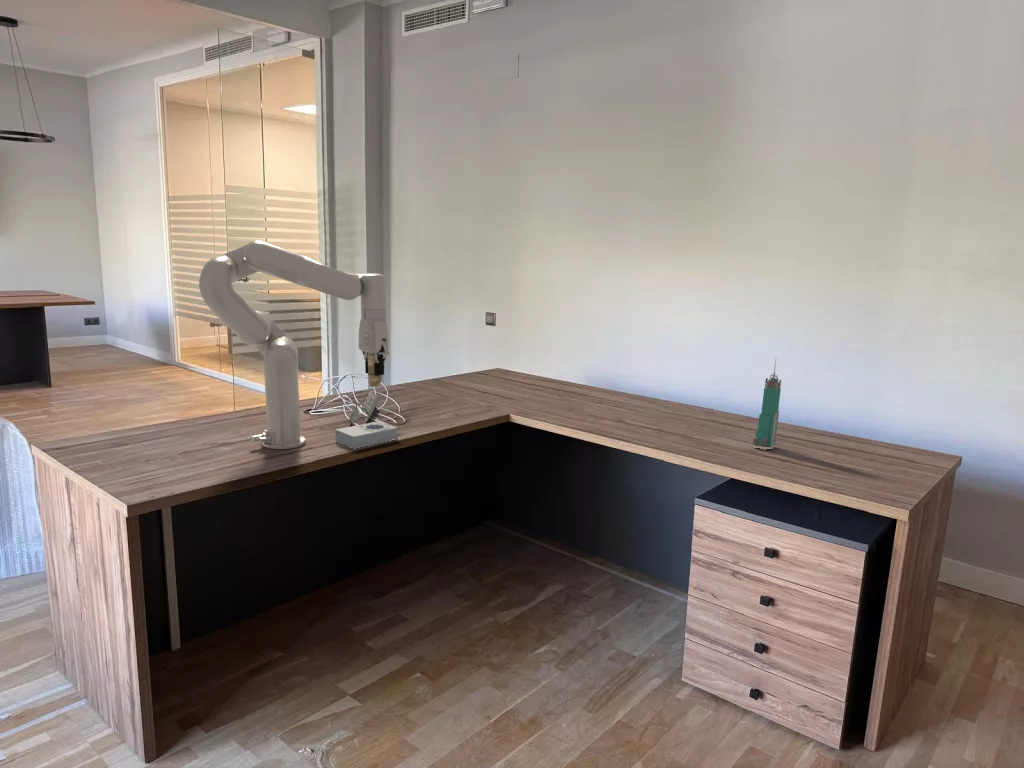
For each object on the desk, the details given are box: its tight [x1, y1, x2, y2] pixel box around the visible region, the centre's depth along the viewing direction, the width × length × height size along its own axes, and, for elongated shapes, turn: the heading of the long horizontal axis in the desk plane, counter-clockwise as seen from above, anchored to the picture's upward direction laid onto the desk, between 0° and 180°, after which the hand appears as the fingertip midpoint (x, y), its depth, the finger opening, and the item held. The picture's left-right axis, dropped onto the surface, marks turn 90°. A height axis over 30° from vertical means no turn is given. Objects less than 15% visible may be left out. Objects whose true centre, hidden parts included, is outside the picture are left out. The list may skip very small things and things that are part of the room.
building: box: [752, 359, 782, 447], centre depth 224 cm, size 6×6×30 cm
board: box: [335, 420, 398, 449], centre depth 219 cm, size 16×10×4 cm, turn 135°
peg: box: [367, 350, 382, 387], centre depth 217 cm, size 4×4×12 cm
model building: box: [348, 391, 379, 426], centre depth 248 cm, size 7×7×25 cm
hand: (374, 373), depth 217 cm, fingers closed on peg, 4 cm apart
